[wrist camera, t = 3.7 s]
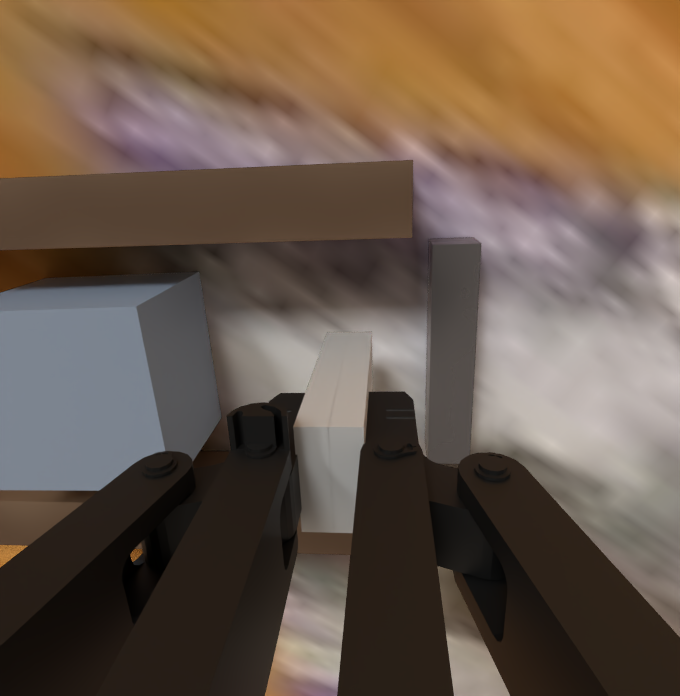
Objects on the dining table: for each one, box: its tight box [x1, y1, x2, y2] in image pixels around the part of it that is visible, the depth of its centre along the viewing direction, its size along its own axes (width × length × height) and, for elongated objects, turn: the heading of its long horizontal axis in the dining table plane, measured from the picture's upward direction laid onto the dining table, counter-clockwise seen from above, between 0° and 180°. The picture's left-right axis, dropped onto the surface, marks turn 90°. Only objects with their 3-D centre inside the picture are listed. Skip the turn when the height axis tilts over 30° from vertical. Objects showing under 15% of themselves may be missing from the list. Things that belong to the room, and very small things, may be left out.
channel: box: [0, 160, 413, 555], centre depth 18 cm, size 13×18×4 cm
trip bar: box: [425, 237, 481, 464], centre depth 18 cm, size 8×2×2 cm, turn 2°
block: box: [0, 272, 222, 491], centre depth 17 cm, size 6×6×5 cm
